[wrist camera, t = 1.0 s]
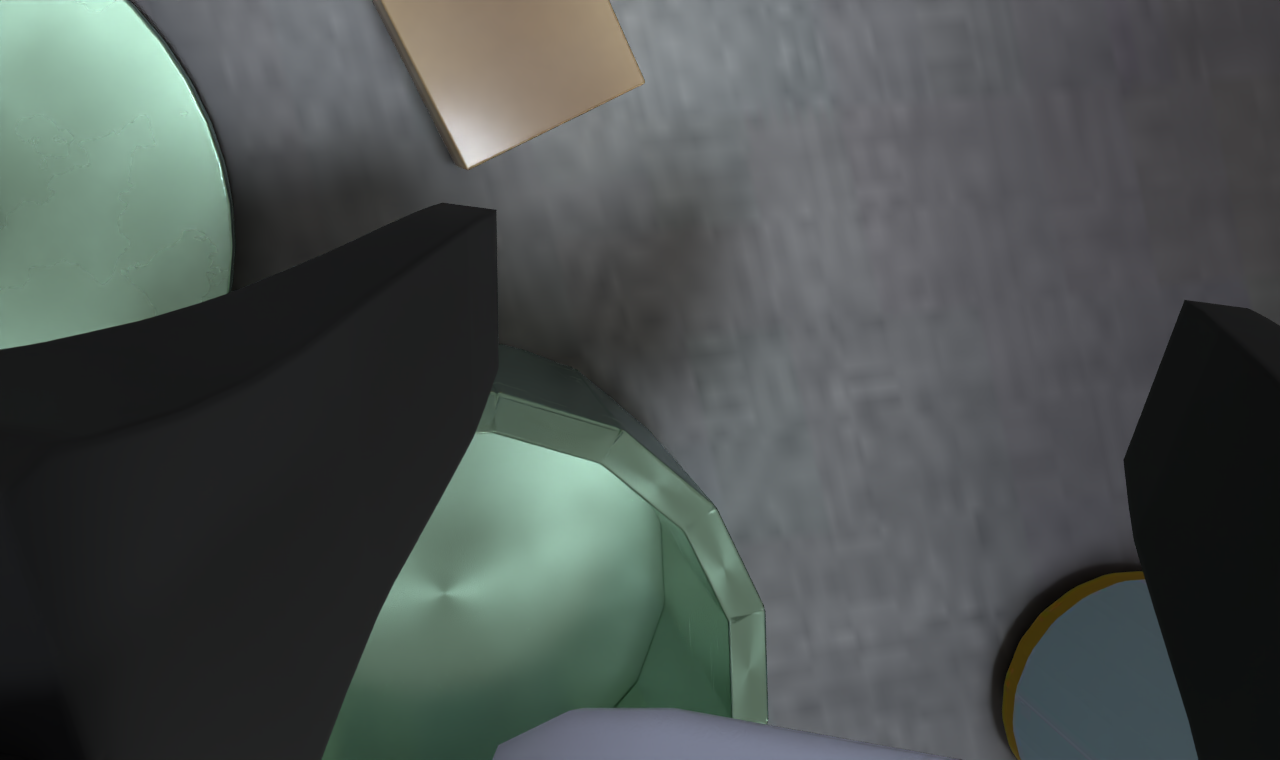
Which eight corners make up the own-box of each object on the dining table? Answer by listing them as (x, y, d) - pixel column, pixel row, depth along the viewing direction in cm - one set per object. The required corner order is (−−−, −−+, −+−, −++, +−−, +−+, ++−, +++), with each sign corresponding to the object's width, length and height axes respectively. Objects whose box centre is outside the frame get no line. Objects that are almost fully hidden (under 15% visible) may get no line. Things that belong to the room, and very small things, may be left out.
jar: (339, 900, 29) (324, 1105, 23) (65, 494, 25) (-40, 606, 19) (763, 665, 30) (857, 798, 24) (557, 246, 26) (606, 277, 20)
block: (455, 166, 26) (466, 171, 22) (372, 0, 25) (367, -26, 21) (609, 91, 26) (646, 82, 22) (533, -76, 25) (558, -115, 21)
